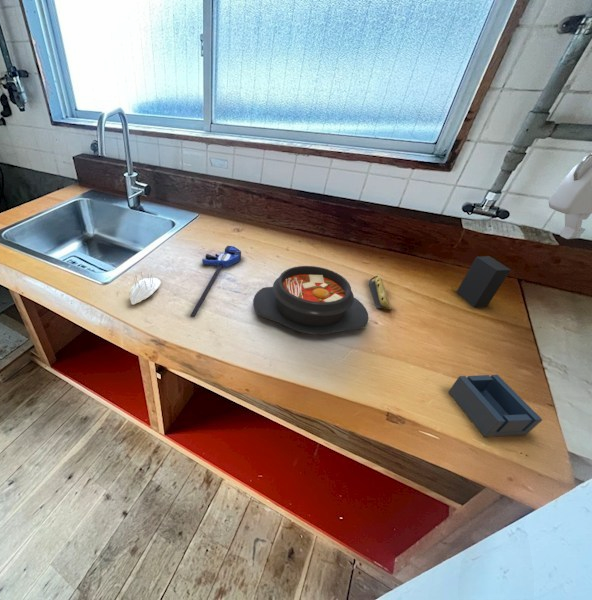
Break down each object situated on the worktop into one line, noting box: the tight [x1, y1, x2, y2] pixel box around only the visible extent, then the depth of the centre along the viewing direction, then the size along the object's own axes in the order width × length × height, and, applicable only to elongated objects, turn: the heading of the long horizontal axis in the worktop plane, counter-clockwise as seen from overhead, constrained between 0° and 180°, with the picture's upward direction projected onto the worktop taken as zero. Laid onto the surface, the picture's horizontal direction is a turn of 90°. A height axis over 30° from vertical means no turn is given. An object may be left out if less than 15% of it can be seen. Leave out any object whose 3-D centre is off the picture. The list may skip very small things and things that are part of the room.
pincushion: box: [129, 271, 162, 306], centre depth 81 cm, size 12×6×6 cm, turn 153°
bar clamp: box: [190, 245, 242, 317], centre depth 86 cm, size 32×2×10 cm
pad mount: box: [448, 374, 543, 438], centre depth 51 cm, size 8×6×4 cm
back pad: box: [455, 255, 512, 308], centre depth 73 cm, size 6×3×10 cm, turn 1°
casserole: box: [252, 265, 369, 336], centre depth 72 cm, size 25×19×8 cm
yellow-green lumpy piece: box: [368, 275, 392, 310], centre depth 78 cm, size 3×14×3 cm
